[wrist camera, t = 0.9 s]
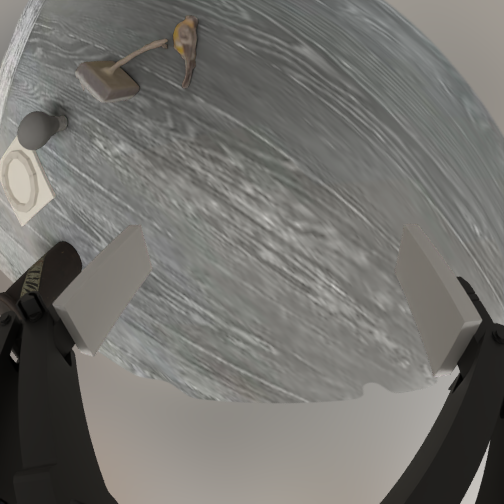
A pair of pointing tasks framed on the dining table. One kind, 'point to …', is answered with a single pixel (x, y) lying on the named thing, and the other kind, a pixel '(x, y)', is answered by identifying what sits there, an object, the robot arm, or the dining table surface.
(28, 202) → the socket
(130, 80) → the decorative sculpture
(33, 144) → the light bulb
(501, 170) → the dining table surface
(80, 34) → the dining table surface
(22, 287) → the container
